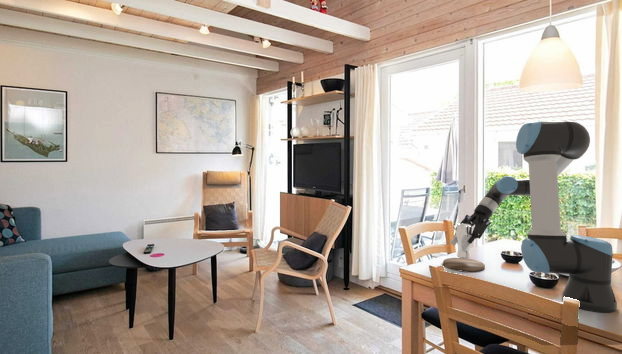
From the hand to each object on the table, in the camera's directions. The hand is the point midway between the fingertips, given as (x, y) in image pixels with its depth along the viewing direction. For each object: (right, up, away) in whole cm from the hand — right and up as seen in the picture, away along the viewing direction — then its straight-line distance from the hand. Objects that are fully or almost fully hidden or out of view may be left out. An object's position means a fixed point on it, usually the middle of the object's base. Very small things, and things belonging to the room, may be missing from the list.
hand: (457, 245), depth 169 cm
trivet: (+3, -10, +2) cm, 10 cm away
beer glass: (+3, -6, +2) cm, 7 cm away
